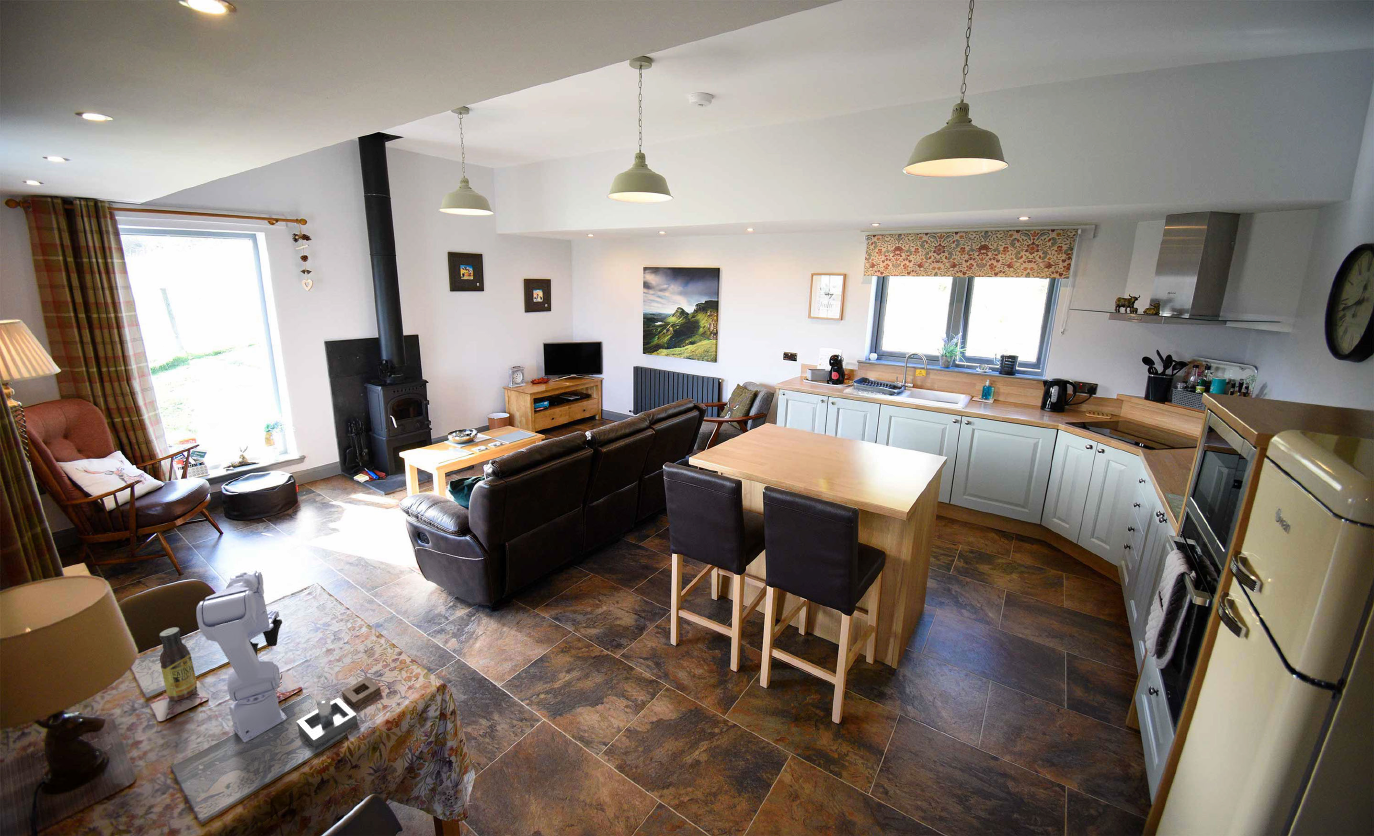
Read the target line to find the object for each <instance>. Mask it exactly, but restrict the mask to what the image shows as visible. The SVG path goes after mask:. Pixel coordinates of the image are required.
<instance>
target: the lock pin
mask: <svg viewBox="0 0 1374 836" xmlns="http://www.w3.org/2000/svg"><path fill="white" fill-rule="evenodd" d="M330 702H331V699H330V698H329V697H324V698H320V700H318V701H317V702H316V706H317V707H316V708H317V709H318V713H319V718H320V723H321V727H322V728H324V729H325V728H329V727H330V726H332V725H333V724H334V719H333V714H332V709H331V703H330Z"/></svg>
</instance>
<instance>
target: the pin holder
mask: <svg viewBox="0 0 1374 836" xmlns="http://www.w3.org/2000/svg"><path fill="white" fill-rule="evenodd" d="M364 690H365V691H364ZM381 690H382V689H381V686H380V685H378V683H376V682H375V681H374V680H373V679H371V678H370V677H369V676H366V677H364V678H362V679H361V680H358V681H357V682H356V683H354V684H352V685H350V686H349V687H347V688H345V689H343V690H341V695H342V698H343V699H344V700H345V701H346V702H347V703H349V704H350V706H352V707H353V708H354V709H357V708H358V707H360V706H361V705H364V704H365V703H366V702H368V701H370V700H371V699H373V698H375V697H376V696H378V695H380V694H382V691H381ZM362 691H363V692H362ZM360 692H361V693H360Z"/></svg>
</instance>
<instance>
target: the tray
mask: <svg viewBox="0 0 1374 836" xmlns="http://www.w3.org/2000/svg"><path fill="white" fill-rule="evenodd" d="M330 703H331V709H332V714H333V719H334V724H333V725H332V726H330V727H329V728H325V729H324V728H322V727H321V723H320V718H319V713H318V708H317V709H315V710H313V711H312V712H310V713H308V714H307V715H305V716H303V717H302V718H299V720H297V721H296V724H297V730H298V732H299V733H300V734H301V735H302V736H303V738H304V739H305V740H306V741H307V742H308V743H309V744H310V746H312V748H313V749H314V750H315V751H316V750H318V749H319V748H321V747H323V746H324V745H326V744H327V743H329V742H330V741H332V740H334V739H335V738H337V737H339V736H340V735H342V734H344V733H345V732H347V731H348V730H349V729H351V728H353V727H355V726H357V725H358V724H359V722H358V718H357V717H358V716H357V713H356V712H354V711H353V709H351V708H350V707H349V706H348V705H347V704H346V703H345V702H344V701H343V700H342V699H341V698H340V697H337V698H335V699H333V700H332V701H331V700H330Z"/></svg>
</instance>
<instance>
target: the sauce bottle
mask: <svg viewBox="0 0 1374 836" xmlns="http://www.w3.org/2000/svg"><path fill="white" fill-rule="evenodd" d="M159 639H160V641H161V643H162V651H161V653H160V655H159V663H160V668H161V669H160V670H161V673H162V679H163V683H164V687H165V690H166V691H165V692H166V694H167V697H168V699H169V700H170V701H174V702H177V701H180V700H185V699H186V698H188V697H190V696H192V695H193V694H194V693H195V692H196V691H197V689H198V687H197V686H198V685H197V684H198V682H197V678H196V672H195V668H194V663H193V659H192V654H191V652H190V650H189V649H188V647H187V645H186V644H184V642H183V641H182V638H181V630H180V628H179V627H170V628H167V629H165V630H162V631H161V632H160V633H159Z"/></svg>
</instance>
